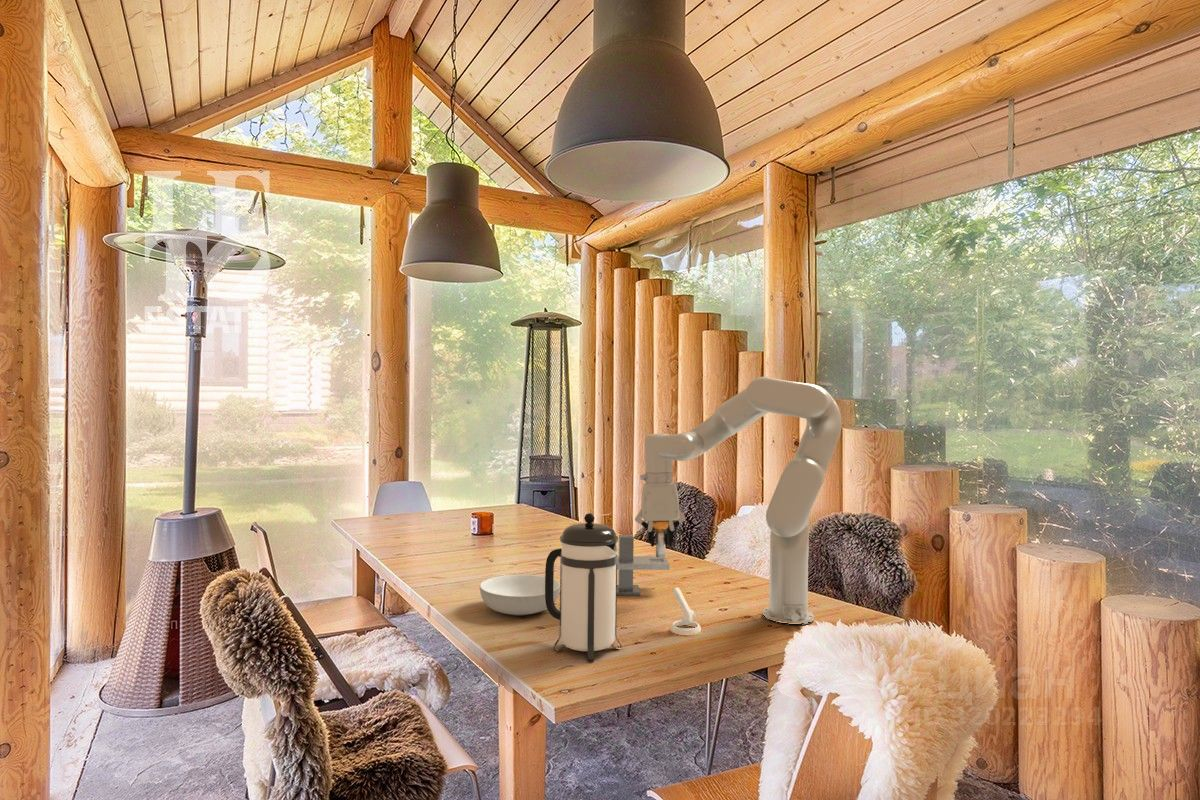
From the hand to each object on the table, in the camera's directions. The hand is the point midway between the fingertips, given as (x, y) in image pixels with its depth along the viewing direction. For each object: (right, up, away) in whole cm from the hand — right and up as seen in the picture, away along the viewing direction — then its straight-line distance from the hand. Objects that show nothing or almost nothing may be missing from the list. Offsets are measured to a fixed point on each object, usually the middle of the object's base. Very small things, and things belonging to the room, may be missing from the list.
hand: (660, 544), depth 186 cm
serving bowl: (-38, -16, -9) cm, 42 cm away
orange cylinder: (0, -3, 0) cm, 3 cm away
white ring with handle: (+4, -16, -24) cm, 29 cm away
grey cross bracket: (-5, -16, +10) cm, 19 cm away
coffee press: (-21, -15, -37) cm, 45 cm away
